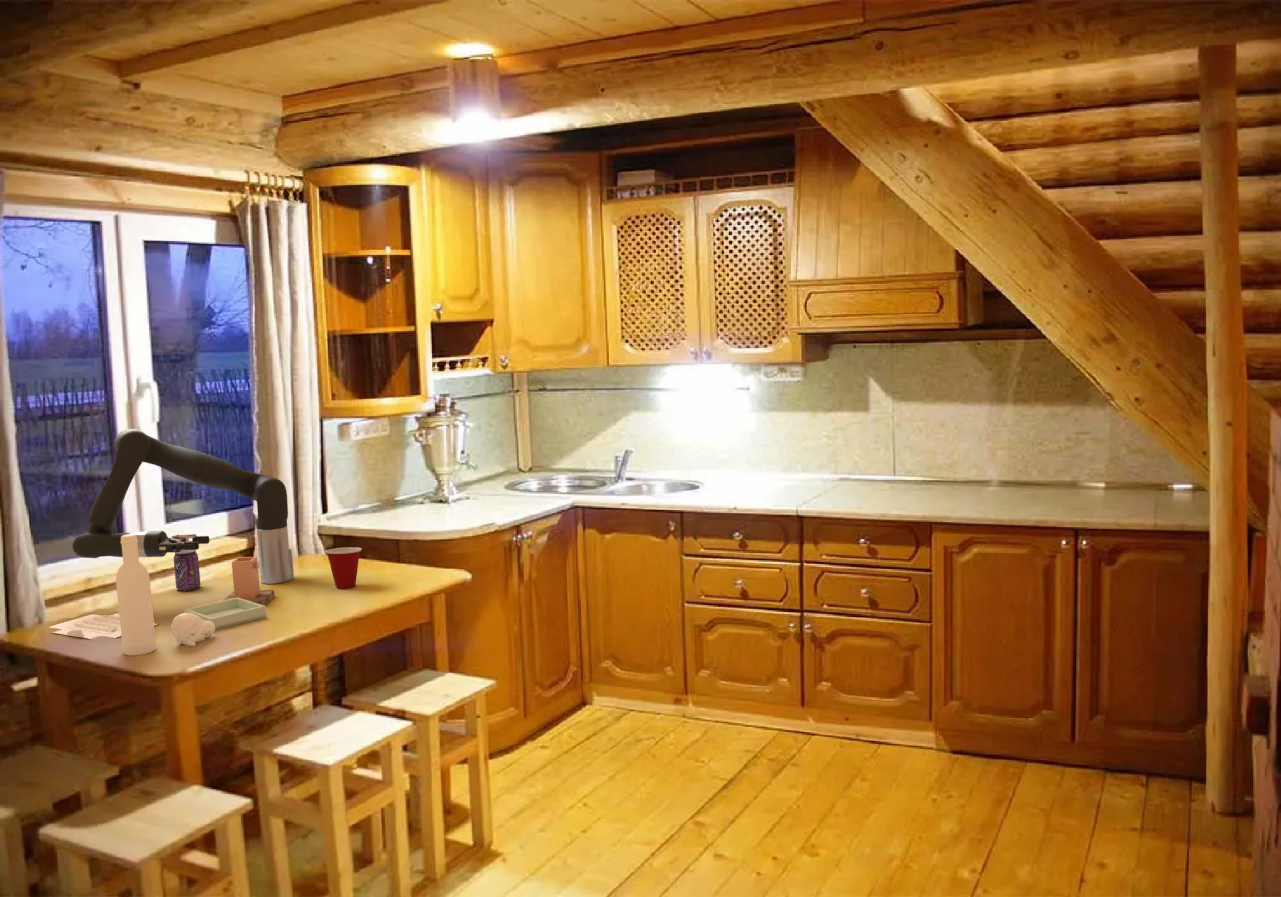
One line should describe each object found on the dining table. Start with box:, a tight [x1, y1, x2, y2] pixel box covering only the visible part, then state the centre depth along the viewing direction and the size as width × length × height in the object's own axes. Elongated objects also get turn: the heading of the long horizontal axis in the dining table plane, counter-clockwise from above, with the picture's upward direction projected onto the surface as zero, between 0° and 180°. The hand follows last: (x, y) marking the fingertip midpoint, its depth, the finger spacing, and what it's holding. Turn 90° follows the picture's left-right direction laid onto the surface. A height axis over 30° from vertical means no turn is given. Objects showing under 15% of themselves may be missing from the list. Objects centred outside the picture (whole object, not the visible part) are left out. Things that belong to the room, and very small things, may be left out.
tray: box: [183, 597, 267, 631], centre depth 312 cm, size 16×16×3 cm
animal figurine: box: [170, 612, 216, 647], centre depth 292 cm, size 6×8×12 cm
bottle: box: [115, 534, 157, 657], centre depth 284 cm, size 8×8×30 cm
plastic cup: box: [324, 546, 362, 590], centre depth 344 cm, size 11×11×12 cm
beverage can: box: [173, 550, 202, 592], centre depth 349 cm, size 7×7×12 cm
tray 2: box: [48, 612, 160, 640], centre depth 310 cm, size 20×28×4 cm
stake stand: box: [221, 589, 276, 606], centre depth 330 cm, size 12×12×8 cm
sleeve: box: [231, 556, 261, 598], centre depth 329 cm, size 6×6×11 cm
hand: (203, 542), depth 327 cm, fingers open, 8 cm apart
